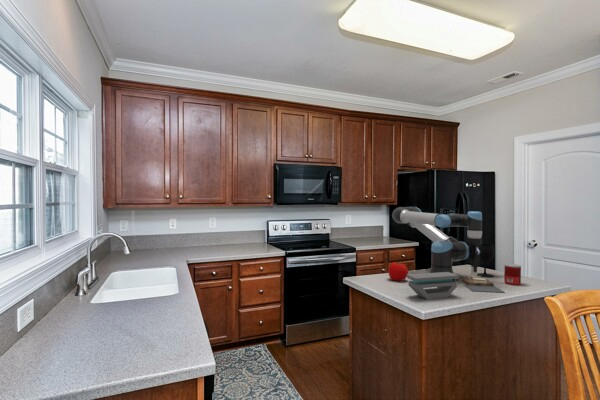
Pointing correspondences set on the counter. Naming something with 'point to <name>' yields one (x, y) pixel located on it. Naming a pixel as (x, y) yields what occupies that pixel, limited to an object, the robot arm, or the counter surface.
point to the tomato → (398, 271)
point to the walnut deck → (470, 282)
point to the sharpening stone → (433, 284)
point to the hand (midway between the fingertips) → (474, 277)
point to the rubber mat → (484, 289)
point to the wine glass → (486, 257)
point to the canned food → (512, 274)
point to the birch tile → (477, 279)
